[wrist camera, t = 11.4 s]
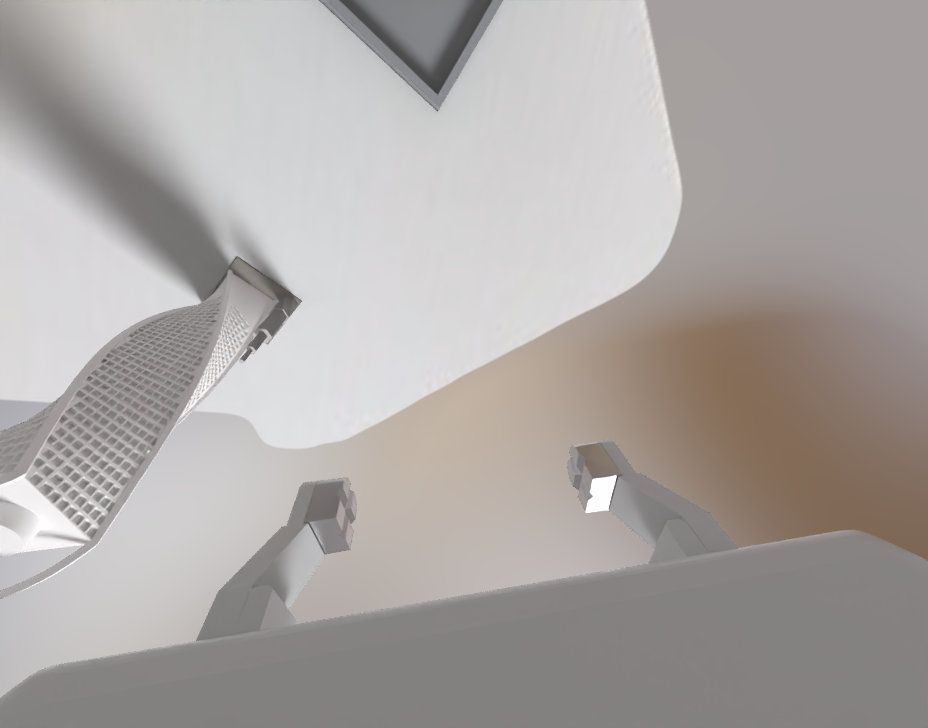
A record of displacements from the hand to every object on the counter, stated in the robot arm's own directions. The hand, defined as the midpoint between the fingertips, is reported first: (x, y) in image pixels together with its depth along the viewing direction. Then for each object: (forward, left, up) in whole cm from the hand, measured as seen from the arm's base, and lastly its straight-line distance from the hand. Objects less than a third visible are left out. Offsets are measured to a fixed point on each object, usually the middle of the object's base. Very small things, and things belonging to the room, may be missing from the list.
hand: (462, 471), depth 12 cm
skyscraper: (-13, -15, -29) cm, 35 cm away
